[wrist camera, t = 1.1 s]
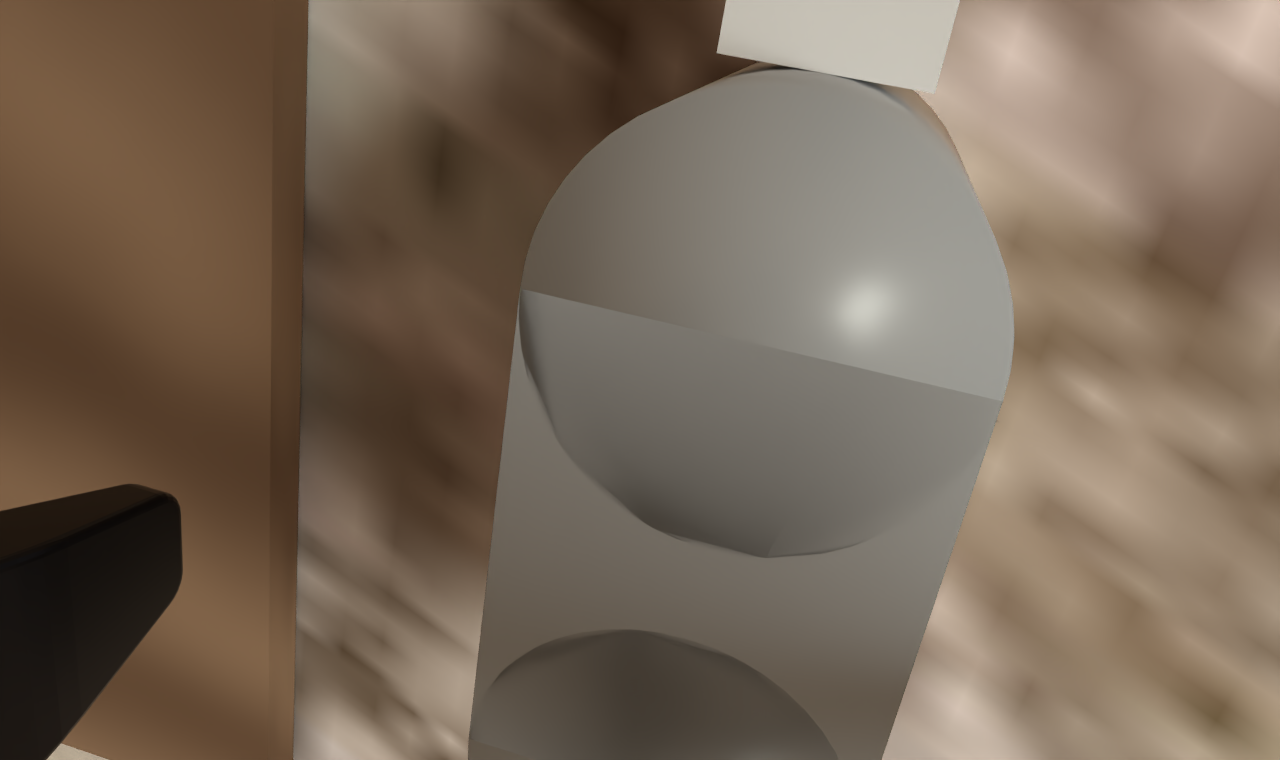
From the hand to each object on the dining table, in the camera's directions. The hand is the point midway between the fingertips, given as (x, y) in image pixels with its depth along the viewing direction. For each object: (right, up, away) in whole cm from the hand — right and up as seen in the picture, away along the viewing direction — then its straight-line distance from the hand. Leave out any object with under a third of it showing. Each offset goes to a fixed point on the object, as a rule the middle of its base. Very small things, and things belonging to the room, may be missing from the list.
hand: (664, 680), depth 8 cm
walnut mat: (-10, +3, +8) cm, 14 cm away
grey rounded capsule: (+2, +3, +5) cm, 6 cm away
